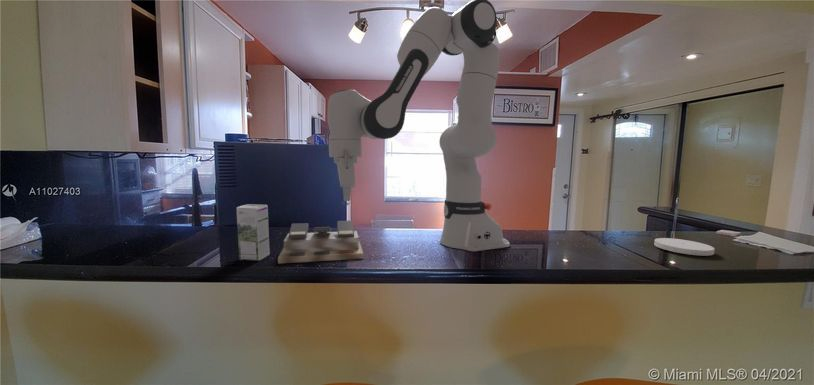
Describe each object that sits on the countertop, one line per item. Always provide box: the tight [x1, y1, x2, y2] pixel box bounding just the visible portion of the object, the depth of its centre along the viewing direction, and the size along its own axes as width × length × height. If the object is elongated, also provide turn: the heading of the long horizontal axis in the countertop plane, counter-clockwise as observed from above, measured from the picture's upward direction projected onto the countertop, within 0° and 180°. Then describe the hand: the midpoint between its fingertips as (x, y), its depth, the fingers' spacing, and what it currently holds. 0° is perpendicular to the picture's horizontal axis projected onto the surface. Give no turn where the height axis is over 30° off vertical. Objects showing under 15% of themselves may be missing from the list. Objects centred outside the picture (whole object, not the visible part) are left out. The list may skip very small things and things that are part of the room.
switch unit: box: [277, 230, 364, 264], centre depth 87 cm, size 22×12×6 cm, turn 103°
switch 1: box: [288, 222, 309, 239], centre depth 87 cm, size 5×7×1 cm, turn 13°
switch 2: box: [336, 220, 355, 238], centre depth 90 cm, size 5×7×1 cm, turn 13°
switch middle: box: [312, 226, 332, 233], centre depth 88 cm, size 5×7×1 cm, turn 13°
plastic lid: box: [653, 237, 716, 257], centre depth 96 cm, size 14×14×2 cm
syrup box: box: [236, 203, 271, 262], centre depth 83 cm, size 6×6×14 cm
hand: (346, 200), depth 86 cm, fingers closed
